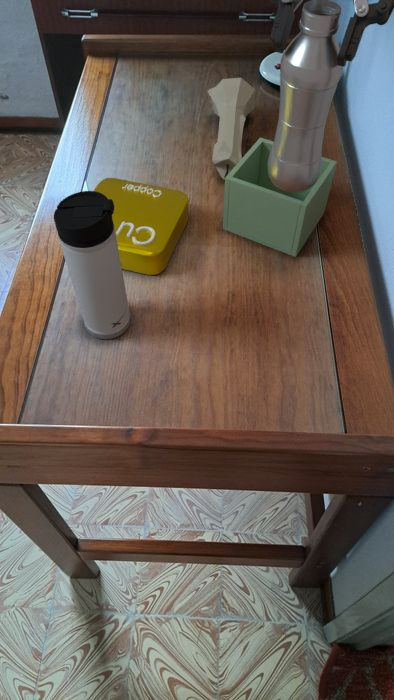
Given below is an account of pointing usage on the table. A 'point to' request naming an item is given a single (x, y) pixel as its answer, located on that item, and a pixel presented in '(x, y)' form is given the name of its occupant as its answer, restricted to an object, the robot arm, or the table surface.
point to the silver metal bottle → (305, 97)
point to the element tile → (145, 222)
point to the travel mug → (94, 262)
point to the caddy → (272, 203)
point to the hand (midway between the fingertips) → (309, 55)
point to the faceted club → (230, 121)
